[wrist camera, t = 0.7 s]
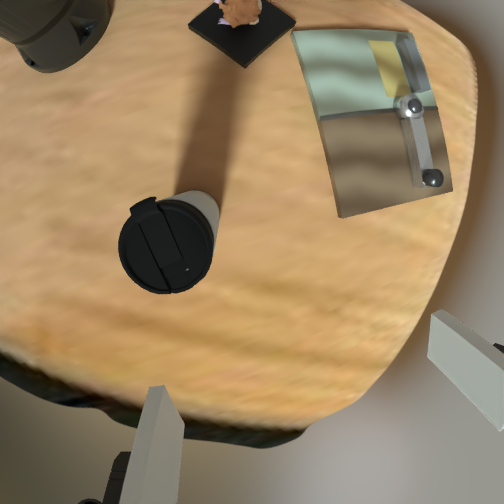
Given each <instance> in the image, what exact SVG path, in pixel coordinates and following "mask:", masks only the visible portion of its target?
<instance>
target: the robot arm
mask: <svg viewBox="0 0 504 504" xmlns="http://www.w3.org/2000/svg"><path fill="white" fill-rule="evenodd" d="M109 18H110V6H109V3H108V1H107V0H0V37H1V38H3V39H5V40H7V41H9V42H11V43H13V44H15V46H16V48H17V49H18V51H19V53H20V55H21V56H22V58H23V60H24V61H25V63H26V64H27V65H28V66H30V67H31V68H33V69H35V70H37V71H39V72H42V73H53V72H57V71H61V70H63V69H65V68H67V67H69V66H71V65H73V64H74V63H76V62H77V61H79V60H80V59H81V58H83V57H84V56H85V55H86V54H87V53H88V52H89V51H90V50H91V49H92V48H93V47H94V46H95V45H96V43H97V42H98V41H99V39H100V38H101V36H102V35H103V33H104V31H105V29H106V27H107V25H108V22H109ZM427 357H428V358H429V359H430V360H431V361H432V362H433V363H434V364H435V365H436V366H437V367H438V368H439V369H440V370H441V371H442V372H443V373H444V374H445V375H446V376H447V377H448V378H449V379H450V380H451V381H452V382H453V383H454V384H455V385H456V386H457V387H458V388H459V390H460V391H461V392H462V393H463V394H465V396H466V397H467V398H468V399H469V400H470V401H471V402H472V403H473V404H474V405H475V406H476V407H477V408H478V409H479V410H480V411H481V413H482V414H483V415H484V416H485V417H486V418H487V419H488V420H489V421H490V422H491V423H492V424H493V426H494V427H495V428H496V429H497V430H498V431H499V432H500V431H501V430H503V429H504V346H502V345H499V344H497V343H495V344H494V345H491V344H490V343H489V342H487V341H486V340H485V339H483V338H482V337H481V336H479V335H478V334H477V333H475V332H474V331H473V330H471V329H470V328H468V327H467V326H465V325H464V324H463V323H461V322H460V321H459V320H457V319H456V318H454V317H453V316H451V315H450V314H449V313H447V312H446V311H445V310H443V309H441V310H439V311H436V312H434V313H432V314H431V325H430V336H429V346H428V354H427ZM184 425H185V424H184V422H183V421H182V419H181V417H180V415H179V413H178V411H177V409H176V407H175V405H174V403H173V402H172V400H171V398H170V396H169V394H168V392H167V390H166V387H165V385H163V386H155V387H149V390H148V394H147V397H146V400H145V404H144V407H143V411H142V414H141V418H140V422H139V425H138V429H137V433H136V436H135V440H134V444H133V448H132V451H131V452H120V454H119V455H118V456H117V457H116V459H115V460H114V463H113V466H112V469H111V471H112V472H111V473H110V476H109V480H108V484H107V487H106V491H105V495H104V499H103V503H101V502H100V501H98V500H96V499H85V500H82V501H81V502H80V503H78V504H177V496H178V485H179V474H180V463H181V453H182V443H183V434H184Z"/></svg>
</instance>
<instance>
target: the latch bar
mask: <svg viewBox="0 0 504 504" xmlns="http://www.w3.org/2000/svg"><path fill="white" fill-rule="evenodd" d="M394 111H395V113H396V115H397V116H398V118H399V119H401V120H400V121H401V125H402V129H403V133H404V138H405V142H406V147H407V152H408V157H409V162H410V167H411V173H412V179H413V185H414V187H421V188H425V187H440V186H442V184H443V182H444V176H443V173H442V172H441V170H439V169H434V168H433V163H432V157H431V152H430V147H429V142H428V137H427V133H426V128H425V124H424V120H423V117H422V116H423V113H424V108H423V104H422V102H421V100H420V99H419V98H418V97H417V96H415V95H413V94H407V95H405V96H402V97H400V98H397V99H396V100H395V102H394Z"/></svg>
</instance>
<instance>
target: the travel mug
mask: <svg viewBox="0 0 504 504" xmlns="http://www.w3.org/2000/svg"><path fill="white" fill-rule="evenodd" d="M155 200H156V197H149V198H147V199H144V200H142V201H140V202H138V203H136V204H135V205H133V206H132V207H131V208H130V212H131V216H130V217H129V218H128V220H127V221H126V222H125V224H124V225H123V228H122V230H121V232H120V236H119V241H118V252H119V257H120V261H121V263H122V266H123V268H124V270H125V271H126V273H127V274H128V276H129V277H130V278H131V279H132V280H133V281H134V282H135V283H136V284H137V285H139V286H140V287H141V288H143V289H145V290H147V291H149V292H152V293H156V294H171V293H180V292H184V291H186V290H188V289H190V288H192V287H193V286H194V285H196V284H197V283H198V282H199V281H200V280H202V279H203V278H204V277H205V276H206V274H207V272H208V270H209V268H210V265H211V262H212V257H213V254H214V249H215V243H216V237H217V231H218V225H219V218H220V212H219V208H218V205H217V203H216V201H215V200H214V199H213V198H212V197H211V196H210V195H209V194H207V193H205V192H202V191H197V190H193V191H188V192H184V193H181V194H178V195H175V196H172V197H168V198H165V199H162V200H159V201H156V202H155Z"/></svg>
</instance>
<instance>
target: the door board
mask: <svg viewBox="0 0 504 504" xmlns="http://www.w3.org/2000/svg"><path fill="white" fill-rule="evenodd" d="M291 39H292V42H293V44H294V47H295V50H296V53H297V56H298V59H299V63H300V66H301V69H302V72H303V75H304V78H305V82H306V85H307V88H308V92H309V95H310V99H311V102H312V106H313V109H314V113H315V117H316V120H317V124H318V128H319V132H320V136H321V140H322V144H323V148H324V152H325V156H326V161H327V165H328V169H329V174H330V178H331V183H332V188H333V192H334V197H335V202H336V207H337V213H338V217H340V218H342V219H343V218H347V217H351V216H355V215H359V214H363V213H367V212H371V211H375V210H379V209H383V208H387V207H391V206H395V205H399V204H403V203H407V202H411V201H415V200H419V199H423V198H427V197H431V196H435V195H439V194H444V193H448V192H452V191H453V187H452V179H451V172H450V166H449V160H448V154H447V149H446V144H445V139H444V134H443V129H442V125H441V121H440V117H439V113H438V107H437V105H436V101H435V98H434V94H433V91H432V87H431V84H430V81H429V78H428V75H427V72H426V69H425V66H424V63H423V60H422V57H421V54H420V52H419V49H418V46H417V44H416V41H415V39H414V36H413V34H412V33H408V32H399V31H387V30H369V29H323V30H304V31H293V32H292V34H291ZM407 94H413V95H415V96H417V97H418V98H419V99H420V100H421V102H422V104H423V108H424V113H423V116H422V117H423V120H424V124H425V128H426V133H427V137H428V142H429V147H430V152H431V157H432V163H433V168H434V169H439V170H441V172H442V173H443V176H444V182H443V184H442V186H440V187H425V188H421V187H414V185H413V179H412V173H411V167H410V162H409V157H408V152H407V147H406V142H405V138H404V133H403V129H402V125H401V121H400V120H401V119H399V118H398V116H397V115H396V113H395V111H394V102H395V100H396V99H397V98H400V97H402V96H405V95H407Z"/></svg>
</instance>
